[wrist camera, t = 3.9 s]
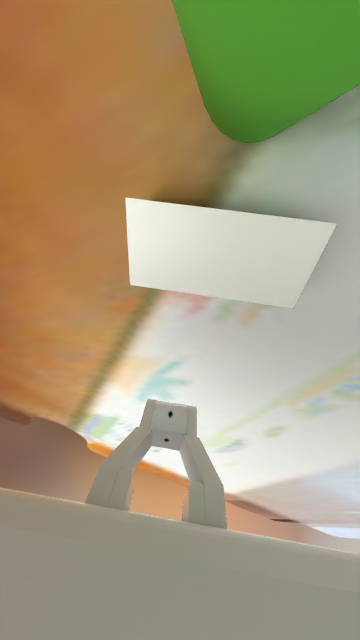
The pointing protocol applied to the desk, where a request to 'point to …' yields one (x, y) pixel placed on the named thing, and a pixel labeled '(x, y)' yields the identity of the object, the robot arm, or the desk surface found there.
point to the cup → (270, 59)
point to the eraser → (222, 251)
